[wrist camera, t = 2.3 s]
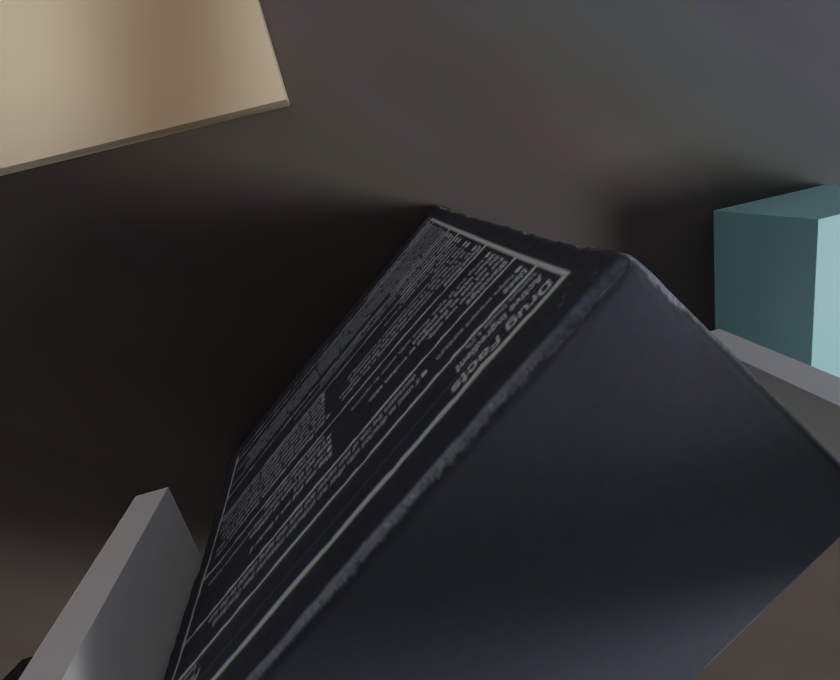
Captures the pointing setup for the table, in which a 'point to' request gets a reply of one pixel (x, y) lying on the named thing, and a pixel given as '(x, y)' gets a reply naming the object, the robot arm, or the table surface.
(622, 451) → the small box
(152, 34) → the oak board
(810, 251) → the teal block
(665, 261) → the table surface
